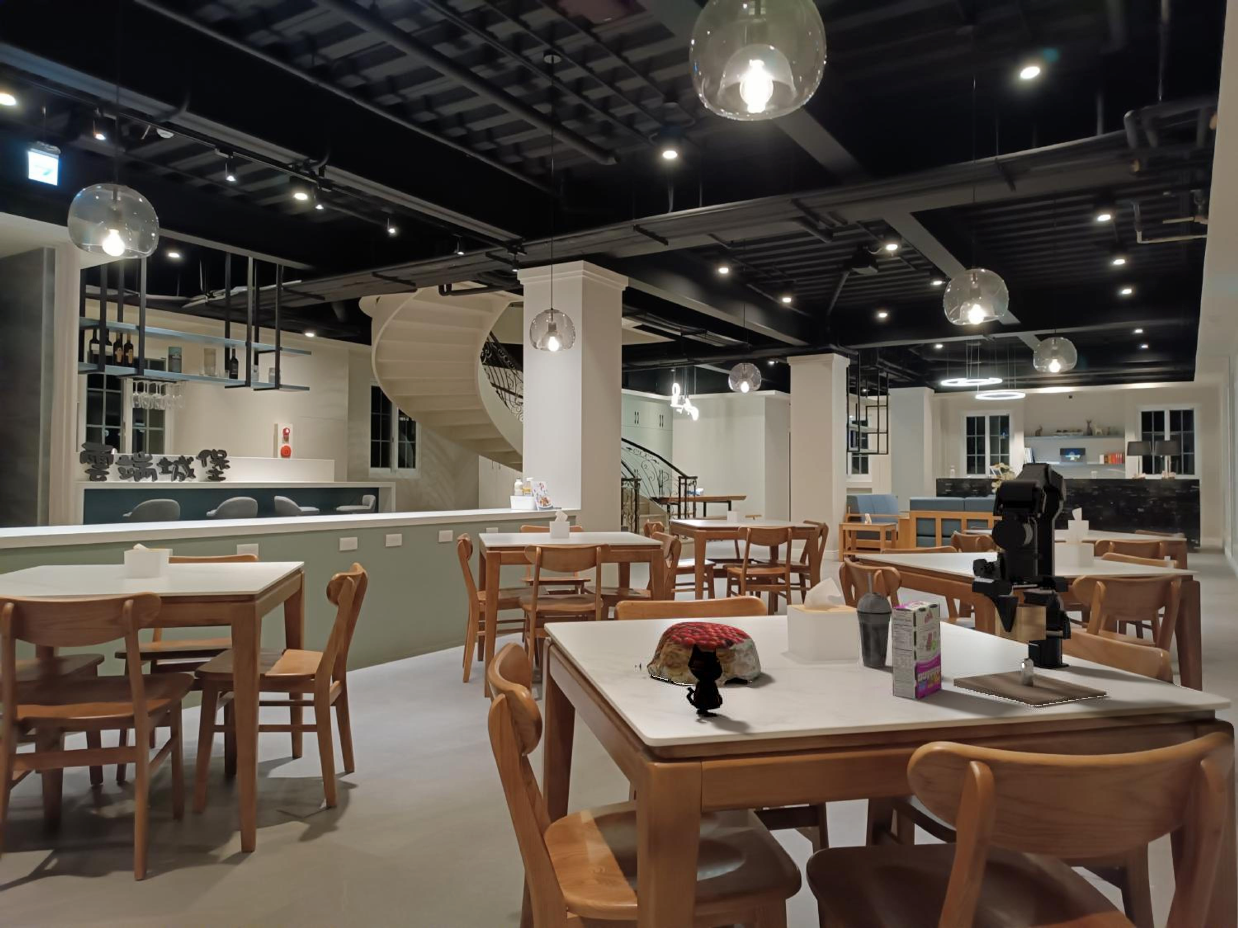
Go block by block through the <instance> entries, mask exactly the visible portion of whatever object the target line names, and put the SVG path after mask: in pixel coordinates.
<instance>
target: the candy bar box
mask: <svg viewBox="0 0 1238 928" xmlns="http://www.w3.org/2000/svg"><path fill="white" fill-rule="evenodd" d="M890 622H891V651H892V652H891V655H892V656H891V658H892V659H891V661H892V664H891V665H892V666H891V667H892V696H893V697H899V698H904V697H905V698H906V699H909V700H915V701H916V700H917V701H918V700H920V699H922V698H924V697H927V696H929V695H932V694H934V693H936V692H939V691H940V690H942V689H943V686H942V649H941V647H942V646H941V643H942V642H941V641H942V640H941V639H942V637H941V603H939V602H933V601H932V602H931V601H922V600H915V601H912V602H908V603H904V604H901V605H898V606H893V607H891V619H890ZM926 695H927V696H926Z"/></svg>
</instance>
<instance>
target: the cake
mask: <svg viewBox="0 0 1238 928" xmlns="http://www.w3.org/2000/svg"><path fill="white" fill-rule="evenodd" d="M694 644H696V645H697V646H698V648H699V649H700V650H701V651H702V652H705V651H708V652H714V650H715V649H716V655H717V657H718V659H719V660H720V664H722V669H723V671H726V672H722V674H721V677H720V678H719V679H717V680H716V681H715V682H716V684H717V686H720V687H724V686H725V682H726V681H730V680H732V679H734V678H738V679H742V680H747V683H748V682H749V683H751V682H750V681H753V682H754V681H755V679H756V680H757V678H758V677H759V676H760V674H761V669H762V667H761V666H762V665H761V661H760V656H759V653H758V649H757V647H756V644H755V642H754V640H753V638H752V637H751V636H750V635H749V634H748V633H746V631H744V630H742V629H740V628H738V627H734V626H732V625H729V624H727V625H726V624H722V623H716V622H706V621H682V622H677V623H675V624H672V625H671V626H669V627H667V629H666V630H665V631H664V632H663V633H662V634H661V636H660V637H659V640H658V643H657V645H656V649H655V651H654V655H653V658H652V660H651V661H650V662H649V663H648V664H647V665H646V669H647V673H648V674H649V675H650V674H651V675H653V676H657V677H661V678H664V679H669V680H670V682H671V681H673V682H676V683H684V684H697V681H699V680H698V679H697V678H696V677H695V676H694V675H693V674H692V673H691V671H690V669H689V667H688V663H689V660H690V658H691V654H692V651H693V647H694ZM638 667H639V670H640V671H642V663H641V662H640V664H639V665H638ZM634 668H637V665H635V666H634ZM724 674H725V675H726V676H727V677H728V678H727V677H726V676H725V675H724ZM728 679H729V680H728Z"/></svg>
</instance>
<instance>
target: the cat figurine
mask: <svg viewBox="0 0 1238 928" xmlns="http://www.w3.org/2000/svg"><path fill="white" fill-rule="evenodd" d="M688 667H689V669H690V671H691V673H692V674H693V675H694V676H695V677H696V678H697V679H698V680H699V681H697V684H696V685H695V687H694V689H693V688H692V687H691V686H688V687H686V688H685V689H686V691H688V693H687V695H686V696H685V697H686V699H687V701H688V702H689V704H690V705H691V706H693V707H694V708H695V709H697V710H696V713H695V714H696V715H703V717H704V718H715V717H716V718H717V717H719V716H718V714H717V713H716V712H713V710H716V709H717V710H718V709H720V708H721V706H722V705H723V704H724V701H723V696H722V695H721V694H720V691H719V688H718V685H717V684H716V682H715V681H716V680H717V679H719V678H720V677H721V674H722V672H726V671H723V669H722V664H720V660H719V659H718V657H717V655H716V649H715V650H714V652H708V651H705V652H702V651H701V650H700V649H699V648H698V646H697V645H696V644H694V647H693V651H692V654H691V658H690V660H689V663H688ZM724 675H725V674H724ZM725 676H726V675H725ZM726 677H727V676H726ZM727 678H728V677H727ZM727 681H730V680H729V679H728V680H727ZM711 710H712V712H710V711H711Z"/></svg>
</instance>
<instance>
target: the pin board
mask: <svg viewBox="0 0 1238 928" xmlns="http://www.w3.org/2000/svg"><path fill="white" fill-rule="evenodd" d="M1020 664H1021V670H1014V671H1005V672H998V673H989V674H982V675H973V676H964V677H958V678H957V677H956V678H953V686H954V687H956V686H957V687H956V688H961V689H963V688H965V689H964V690H967V689H968V691H971V690H973V691H972V692H975V691H976V692H975V693H978V692H980V693H979V694H982V693H985V694H984V695H986V694H988V695H987V696H990V695H995V696H998V697H1003V698H1008V699H1011V700H1016V701H1019V702H1024V703H1026V704H1030V705H1034V706H1035V705H1043V704H1049V703H1056V702H1063V701H1068V700H1076V699H1082V698H1088V697H1097V696H1104V695H1108V694H1107V691H1105V690H1102V689H1101V690H1100V689H1097V688H1094V687H1093V688H1092V687H1088V686H1084V685H1080V684H1078V683H1074V682H1073V683H1072V682H1069V681H1065V680H1060V679H1057V678H1053V677H1049V676H1045V675H1042V674H1039V673H1038V674H1037V673H1034V665H1033V661H1032V660H1031V659H1029V658H1028V657H1025V658H1023V659H1022V660H1021V663H1020Z"/></svg>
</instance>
